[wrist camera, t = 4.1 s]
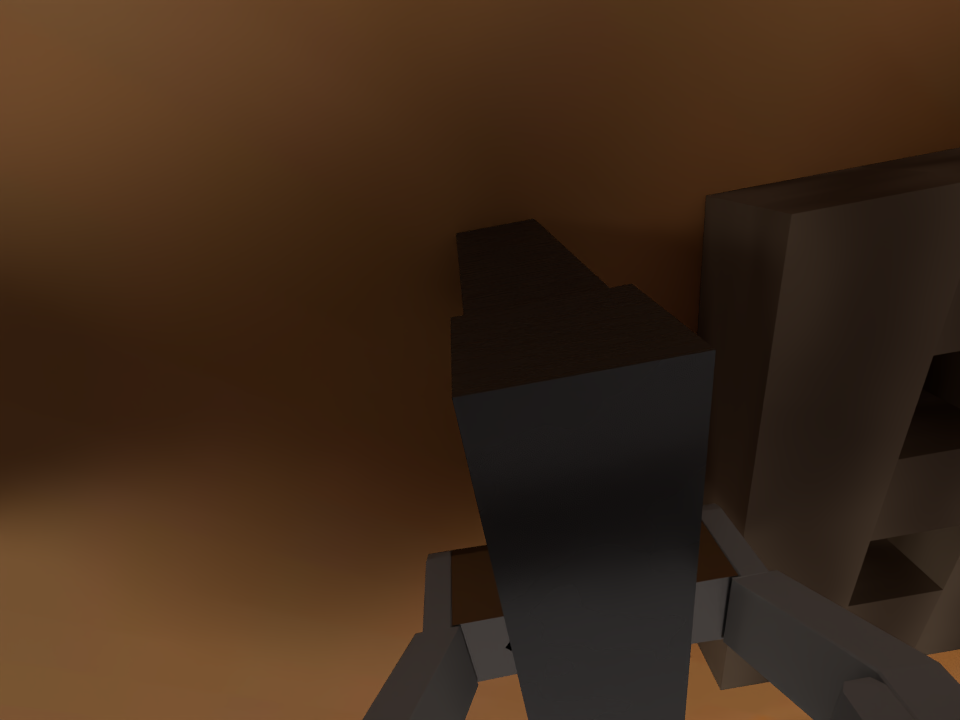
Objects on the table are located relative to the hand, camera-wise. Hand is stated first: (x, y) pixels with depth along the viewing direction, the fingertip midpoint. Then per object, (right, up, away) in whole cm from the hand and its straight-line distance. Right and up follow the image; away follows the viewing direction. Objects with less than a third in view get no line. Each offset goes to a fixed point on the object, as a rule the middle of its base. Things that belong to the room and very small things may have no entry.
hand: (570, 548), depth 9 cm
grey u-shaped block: (-1, +4, +7) cm, 8 cm away
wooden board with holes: (+14, +1, +10) cm, 17 cm away
